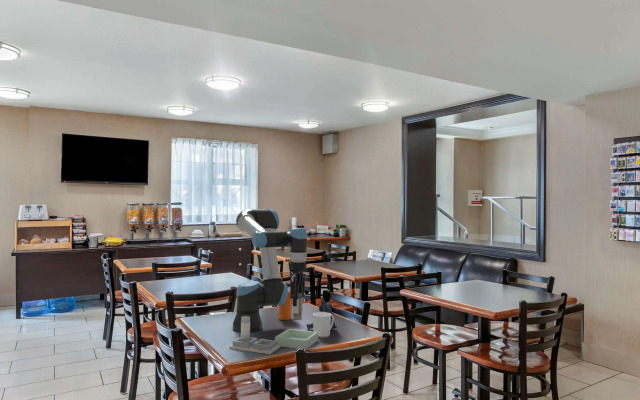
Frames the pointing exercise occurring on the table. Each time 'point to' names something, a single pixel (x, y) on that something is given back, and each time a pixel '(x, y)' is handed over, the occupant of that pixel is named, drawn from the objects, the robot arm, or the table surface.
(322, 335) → the mug
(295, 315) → the fuse
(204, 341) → the table surface
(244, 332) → the fuse
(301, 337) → the parts tray
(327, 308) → the gun
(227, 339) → the table surface
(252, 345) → the panel
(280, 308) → the shaker bottle
